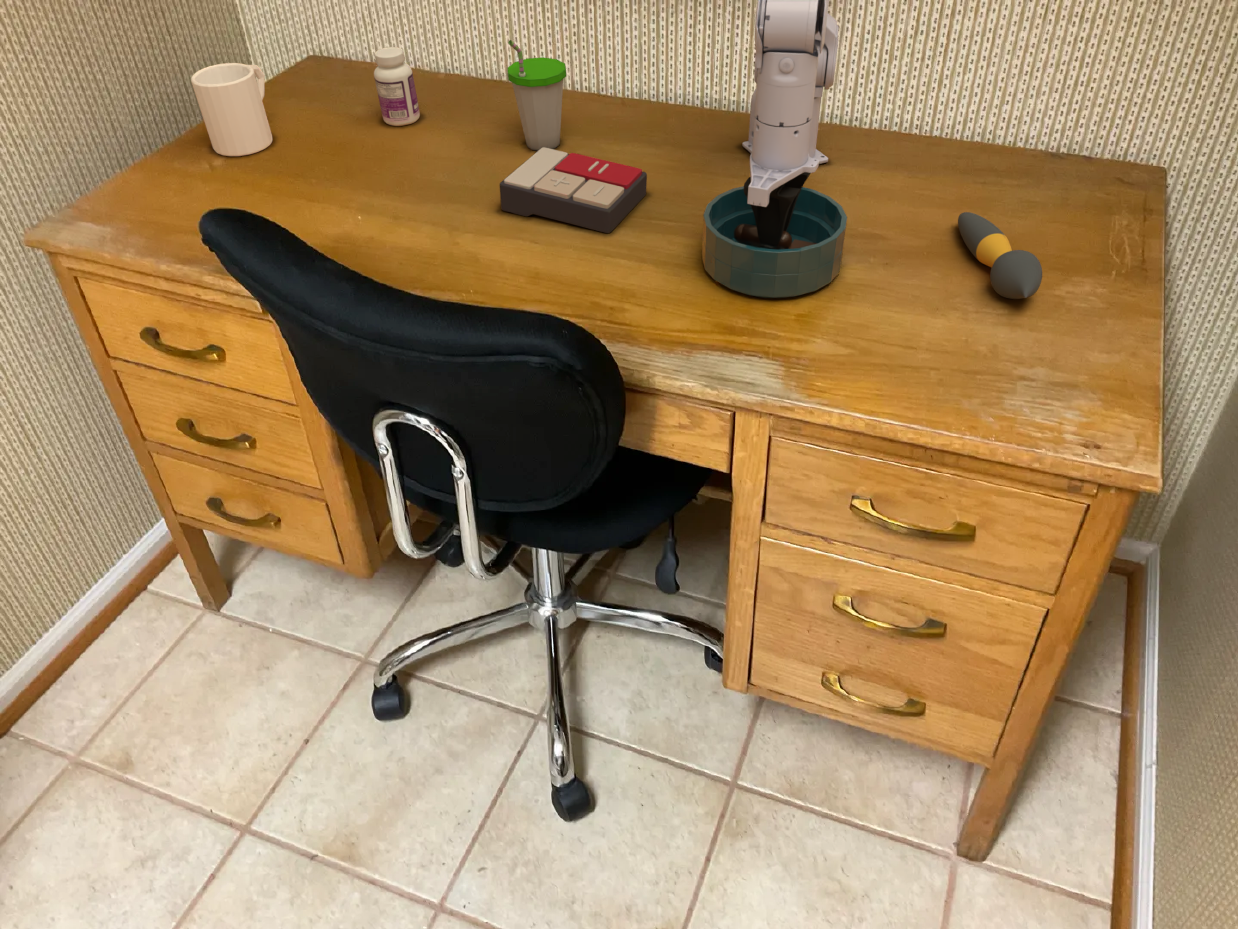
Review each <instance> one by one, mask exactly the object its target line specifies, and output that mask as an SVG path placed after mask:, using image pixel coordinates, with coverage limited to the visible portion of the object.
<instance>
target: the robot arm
mask: <svg viewBox="0 0 1238 929" xmlns="http://www.w3.org/2000/svg"><path fill="white" fill-rule="evenodd" d="M829 3H830V0H757V2H756V10H755V19H754V22H755V23H754V45H755V57H754V69H753V70H754V72H753V79H754V81H753V82H754V83H755V84H756V86H755V89H754V91H753V93H752V95H751V99H750V112H749V126H748V140H747V141H743V142H742V145H741V146H742V147H743V148H744V149H745V150H747V151H748V152H749V153H750V154H749V155H750V156H749V173H750V176H748V178H747V179H746V181H745V182H744V183H743V186H744V194H745V196H746V197H747V199H748V201H747V204H750V205H751V207H752V210H753V213H754V216H755V221H756V227H757V232H758V237H759V241H760V243H764V244H770V245H775V246H777V245H778V244H779V242H780V240H781V237H782V234H783V231H787V229H788V226H789V223H790V220H791V217H792V214H793V210H794V207H795V204H796V201H797V198H798V196H799V193H800V191H801V189H802V187H804V185H805V183H806V181H807V180H808V178H809V177H810V175H811V174H813V173H815V172H816V171H817V169H819V166H820V165H821V164H824V163H828V162H829V157H828V156H826V155H825V153H824V154H823V152H821V151H819V150H818V149H817V142H818V133H819V124H820V115H821V106H822V97H823V95H824V94H823V93H824V90H826V91H827V90H830V88H832V87H833V86H834V82H835V75H836V66H837V59H838V58H837V56H838V49H839V48H838V47H839V30H840V29H839V28H840V27H839V25H838V21H837V20H836V18H835V17H834V16H833V15H831V14H830V13H829Z"/></svg>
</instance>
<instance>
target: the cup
mask: <svg viewBox="0 0 1238 929" xmlns="http://www.w3.org/2000/svg"><path fill="white" fill-rule="evenodd" d="M507 43H508V45H509V46H510V47H511V48H512V49H513V50H515V51H516V54H517V57H518V61H514V62H513V63H512V64H510V65H509V66H508V67H507V79H508V81H509V82H510V83H511V84H512V88H513V94H514V97H515V101H516V105H517V110H518V115H519V118H520V122H521V126H522V131H523V135H524V139H525V143H526V147H527V148H528V149H529V150H531V151H536V152H537V151H538V150H540V149H541V148H543V147H545V148H549V149H553V150H555V149H556V148H558V147H559V146H560V144H561V143H560V142H561V129H562V128H561V126H562V110H563V108H562V107H563V91H564V79H565V78H566V77H567V66H566V63H564V62H563V61H561V60H559V59H557V58H551V57H543V56H542V57H527V58H525V59H524V57H523V56H524V55H523V52H522V49H521V47H519V46H518V45H517V44H516V43H515V42H514V41H512V40H511V39H509V40H508V42H507Z"/></svg>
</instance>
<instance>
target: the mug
mask: <svg viewBox="0 0 1238 929" xmlns="http://www.w3.org/2000/svg"><path fill="white" fill-rule="evenodd" d="M265 76H266V75H265V73H264V72H263V71H262V69H261V68H260V67H259V65H257V64H245V63H239V62H226V63H218V64H213V65H210V66H206V67H204V68H201V69H199V70H197V71H195V73H194V74H192V76H191V78H190V82H191V85H192V89H193V90H194V94H195V97H196V100H197V103H198V106H199V110H200V112H201V115H202V116H201V117H202V118H203V121H204V125H205V128H206V130H207V134H208V137H209V140H210V144H211V147H212V150H214V152H215V153H216V154H219V155H221V156H227V157H241V156H242V157H243V156H249V155H252V154H256V153H259V152H261V151H263V150H265V149H267V148H268V147H270V146H271V144H272V143H273V134H272V130H271V126H270V123H269V120H268V117H267V112H266V109H265V105H264V102H263V100H264V98H265V94H266V93H265V92H266V90H265V89H266V88H265V87H266V86H265V79H266V78H265Z"/></svg>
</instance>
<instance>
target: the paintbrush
mask: <svg viewBox="0 0 1238 929" xmlns="http://www.w3.org/2000/svg"><path fill="white" fill-rule="evenodd" d="M957 226H958V230H959V233H960V235H961V238H962V240H963V242H964V244H965V245H966V247H967V249H968V250H969V251H970V253H971V254H972V255H973V257H974V258H975V259H976V260H977V261H978V262H980V263H981V264H983V265H985V266H987V267H989V268H991V269H990V273H989V274H990V275H989V279H990V285H991V286H992V288H993V290H994V291H995V292H996V293H997V294H998V295H999V296H1001V297H1003V298H1005V299H1011V300H1012V299H1013V300H1021V299H1027V298H1030V297H1032V296H1034V295H1035V294H1036V293H1037V291H1038V290H1039V289H1040V287H1041V283H1042V279H1043V267H1042V263H1041V261H1040V260H1039V258H1038V257H1037V256H1036V255H1035V254H1034V253H1032V252H1030V251H1028V250H1023V249H1022V250H1021V249H1014V250H1013V249H1012V246H1011V243H1010V240H1009V239H1008V237H1007V236H1006V234H1005V233H1004V232H1003V231H1002V230H1001V229H1000V228H999V227H998V226H996V225H995V224H994V223H993V222H992V221H990V220H988V219H987V218H985V217H983V216H981V215H980V214H977V213H974V212H970V211H965V212H961V213H960V214H959V215H958V217H957Z"/></svg>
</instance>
